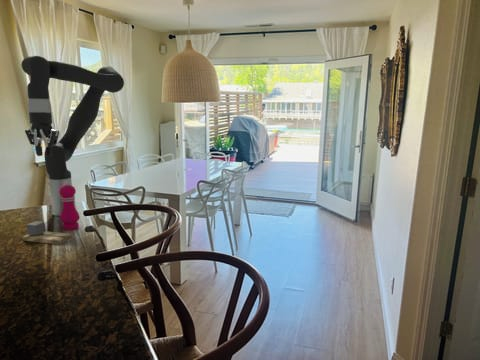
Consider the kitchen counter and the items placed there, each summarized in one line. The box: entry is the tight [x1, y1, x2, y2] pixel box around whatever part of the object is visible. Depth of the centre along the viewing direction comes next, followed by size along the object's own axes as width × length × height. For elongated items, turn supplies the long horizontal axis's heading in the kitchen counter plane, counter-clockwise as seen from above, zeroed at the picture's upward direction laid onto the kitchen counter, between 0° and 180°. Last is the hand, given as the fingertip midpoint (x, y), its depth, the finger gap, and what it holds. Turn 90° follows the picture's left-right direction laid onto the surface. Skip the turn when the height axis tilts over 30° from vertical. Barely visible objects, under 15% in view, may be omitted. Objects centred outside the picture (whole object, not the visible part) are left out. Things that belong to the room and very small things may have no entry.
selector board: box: [22, 230, 73, 245], centre depth 135 cm, size 16×7×2 cm, turn 78°
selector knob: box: [26, 220, 46, 235], centre depth 135 cm, size 4×4×4 cm
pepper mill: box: [59, 182, 80, 231], centre depth 146 cm, size 7×7×20 cm
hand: (44, 155), depth 137 cm, fingers open, 3 cm apart
